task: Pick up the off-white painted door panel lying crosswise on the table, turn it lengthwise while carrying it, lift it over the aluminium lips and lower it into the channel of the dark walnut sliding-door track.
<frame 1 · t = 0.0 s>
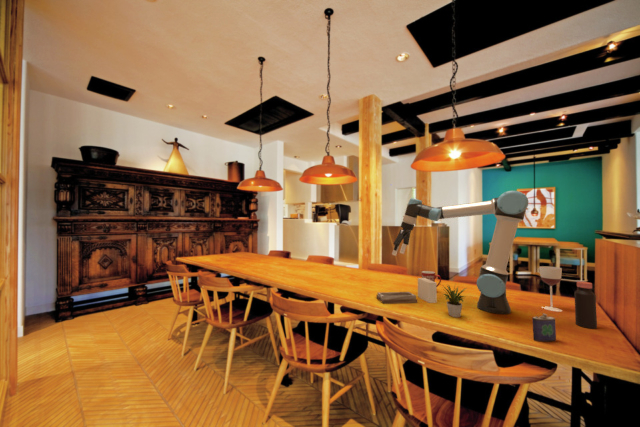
hand: (397, 254, 157), 28 cm above the table, tool tilted 20°, fingers open, 13 cm apart
mug: (431, 292, 173), on the table
flask: (545, 340, 100), on the table
door track: (396, 300, 152), on the table
wineglass: (551, 309, 138), on the table
door panel: (426, 299, 155), on the table
house plant: (451, 315, 128), on the table
bottle: (586, 326, 115), on the table
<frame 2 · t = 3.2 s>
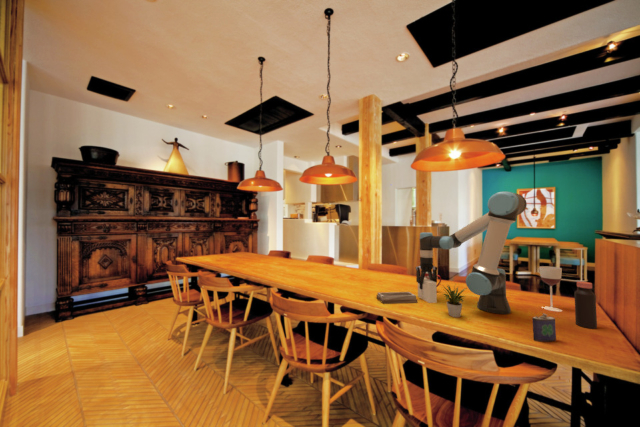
hand: (426, 294, 155), 3 cm above the table, tool pointing down, fingers closed on door panel, 5 cm apart
door panel: (426, 299, 155), on the table, touching gripper
everything else where it was.
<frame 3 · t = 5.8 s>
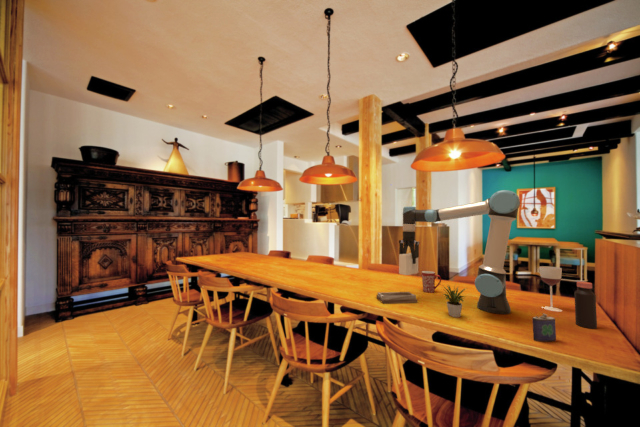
hand: (408, 268, 155), 20 cm above the table, tool pointing down, fingers closed on door panel, 5 cm apart
door panel: (408, 273, 155), point 16 cm above the table, touching gripper
everything else where it was.
when the fingers open (6 cm above the table, at t = 8.3 s): door panel stays where it is, resting on door track.
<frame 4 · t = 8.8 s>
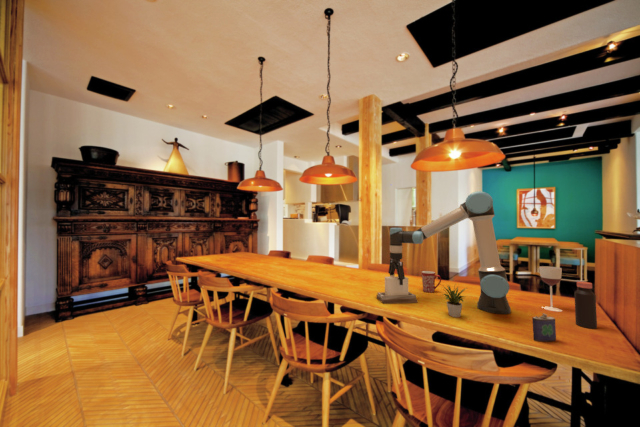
hand: (396, 287, 153), 8 cm above the table, tool pointing down, fingers open, 11 cm apart
door panel: (396, 297, 152), point 2 cm above the table, touching door track
everything else where it was.
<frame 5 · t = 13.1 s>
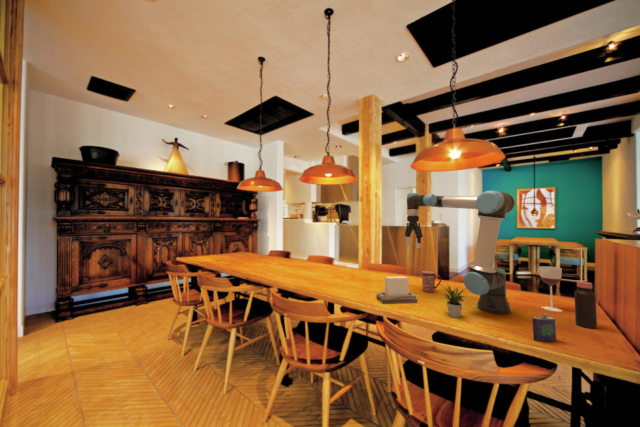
hand: (413, 247, 167), 32 cm above the table, tool pointing down, fingers open, 13 cm apart
nothing on the table moved.
at the end: door panel inside the target area on the door track (0.1 cm from its centre), point 2.0 cm above the door track's base; door panel tilted 0°; the gripper is holding nothing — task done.
